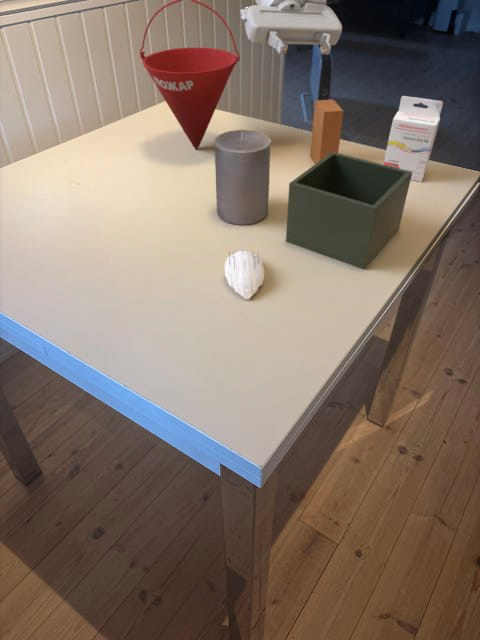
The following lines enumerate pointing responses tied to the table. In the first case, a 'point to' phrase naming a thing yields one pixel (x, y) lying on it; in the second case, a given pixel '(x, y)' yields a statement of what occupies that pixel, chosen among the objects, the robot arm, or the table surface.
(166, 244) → the table surface
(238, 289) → the pincushion
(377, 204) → the waste bin
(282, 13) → the robot arm
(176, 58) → the fire bucket
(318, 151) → the orange rectangular block
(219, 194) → the pillar candle
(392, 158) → the ink cartridge box
